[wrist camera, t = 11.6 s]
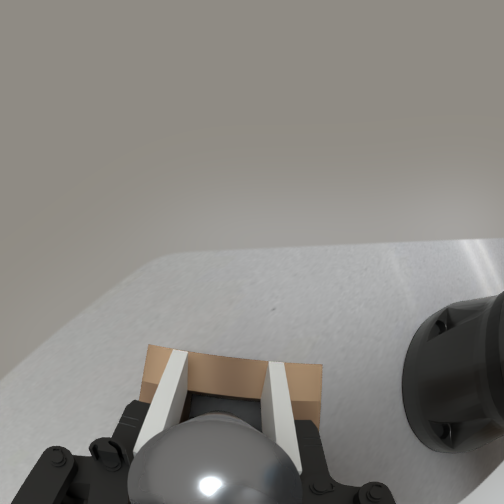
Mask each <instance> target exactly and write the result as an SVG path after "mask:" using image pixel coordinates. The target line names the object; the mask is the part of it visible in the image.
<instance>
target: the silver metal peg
mask: <svg viewBox="0 0 504 504" xmlns="http://www.w3.org/2000/svg"><path fill="white" fill-rule="evenodd" d="M127 483H128V495H129V499H130V502H131V504H302V493H303V491H302V482H301V479H300V475H299V473H298V470H297V468H296V466H295V464H294V463H293V461H292V460H291V458H290V457H289V455H288V454H287V453H286V452H285V451H284V450H283V449H282V448H281V447H280V446H279V445H278V444H277V443H275V442H274V441H273V440H271V439H270V438H268V437H267V436H265V435H264V434H262V433H261V432H259V431H258V430H256V429H255V428H253V427H252V426H251V425H249V424H248V423H246V422H245V421H243V420H242V419H240V418H239V417H238V416H236V415H234V414H232V413H229V412H225V411H211V412H207V413H204V414H202V415H200V416H197V417H195V418H192V419H190V420H188V421H185V422H183V423H180V424H177V425H175V426H172V427H170V428H167V429H165V430H163V431H161V432H160V433H158V434H156V435H155V436H153V437H152V438H151V439H149V440H148V441H147V442H146V443H145V444H144V445H143V446H142V447H141V448H140V450H139V451H138V452H137V454H136V455H135V457H134V459H133V461H132V463H131V466H130V469H129V473H128V481H127Z"/></svg>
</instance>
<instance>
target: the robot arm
mask: <svg viewBox="0 0 504 504" xmlns="http://www.w3.org/2000/svg"><path fill="white" fill-rule="evenodd" d="M187 385H188V352H187V351H181V350H175V349H173V351H172V353H171V356H170V358H169V361H168V363H167V365H166V368H165V370H164V373H163V375H162V378H161V380H160V383H159V385H158V388H157V390H156V393H155V395H154V398H153V400H152V403H151V404H150V403H146V402H141V401H137V400H134V401H132V402H131V403H130V404H129V405H127V406H126V408H125V410H124V412H123V414H122V417H121V418H120V421H119V423H118V425H117V427H116V429H115V431H114V433H113V435H112V438H109V437H102V438H99V439H96V440H95V441H93V442H92V443H91V444H90V446H89V451H90V453H91V455H92V456H77V455H72V454H71V452H70V451H69V450H67V449H66V448H64V447H61V446H52V447H49V448H47V449H46V450H45V451H44V452H43V454H42V455H41V457H40V458H39V460H38V461H37V463H36V464H35V466H34V467H33V469H32V470H31V472H30V474H29V475H28V477H27V478H26V480H25V481H24V483H23V485H22V486H21V488H20V489H19V491H18V493H17V494H16V496H15V498H14V499H13V501H12V503H11V504H131V502H130V499H129V495H128V483H127V481H128V473H129V469H130V466H131V463H132V461H133V459H134V457H135V455H136V454H137V452H138V451H139V450H140V448H141V447H142V446H143V445H144V444H145V443H146V442H147V441H148V440H149V439H151V438H152V437H153V436H155V435H156V434H158V433H160V432H161V431H163V430H165V429H167V428H170V427H172V426H175V425H177V424H179V422H180V418H181V414H182V410H183V406H184V402H185V399H186V395H187ZM403 398H404V405H405V410H406V414H407V417H408V420H409V423H410V425H411V427H412V429H413V431H414V432H415V434H416V435H417V437H418V438H419V439H420V440H421V441H422V442H423V443H424V444H425V445H426V446H428V447H429V448H431V449H433V450H435V451H438V452H443V453H463V452H468V451H472V450H474V449H477V448H479V447H481V446H483V445H485V444H487V443H489V442H491V441H493V440H495V439H497V438H499V437H501V436H503V435H504V291H503V292H502V293H501V294H499V295H496V296H491V297H485V298H479V299H473V300H467V301H460V302H456V303H453V304H450V305H448V306H446V307H445V308H443V309H441V310H440V311H438V312H437V313H435V314H433V315H432V316H431V317H429V318H428V319H427V320H426V321H425V322H424V323H423V324H422V325H421V327H420V328H419V329H418V331H417V332H416V334H415V336H414V338H413V340H412V342H411V344H410V347H409V350H408V353H407V356H406V361H405V366H404V373H403ZM261 419H262V434H264V435H265V436H267V437H268V438H270V439H271V440H273V441H274V442H275V443H277V444H278V445H279V446H280V447H281V448H282V449H283V450H284V451H285V452H286V453H287V454H288V455H289V457H290V458H291V460H292V461H293V463H294V464H295V466H296V468H297V470H298V473H299V475H300V479H301V482H302V491H303V493H302V504H396V503H395V501H394V498H393V496H392V494H391V491H390V490H389V488H388V487H387V486H386V485H384V484H383V483H379V482H369V483H367V484H364V485H363V486H362V487H354V486H346V485H342V484H340V483H338V482H336V481H335V480H333V479H332V477H331V476H330V474H329V472H328V468H327V464H326V460H325V456H324V451H323V447H322V443H321V439H320V435H319V431H318V428H317V427H316V425H315V424H314V423H313V422H312V420H294V418H293V413H292V407H291V401H290V395H289V389H288V384H287V378H286V372H285V366H284V362H272V361H269V362H268V367H267V372H266V377H265V381H264V386H263V391H262V396H261Z"/></svg>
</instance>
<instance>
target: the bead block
mask: <svg viewBox="0 0 504 504" xmlns="http://www.w3.org/2000/svg"><path fill="white" fill-rule="evenodd" d="M175 350H177V349H175ZM172 351H173V349H171V348H165V347H160V346H155V345H150V344H149V345H148V350H147V356H146V361H145V367H144V372H143V378H142V385H141V391H140V397H139V401H141V402H146V403H150V404H151V403H152V400H153V398H154V395H155V393H156V390H157V388H158V385H159V383H160V380H161V378H162V375H163V373H164V370H165V368H166V365H167V363H168V361H169V358H170V356H171V353H172ZM181 351H183V350H181ZM187 352H188V385H187V395H186V399H185V402H184V406H183V410H182V414H181V418H180V422H179V424H180V423H183V422H185V421H188V420H189V413H190V405H191V397H192V394H197V395H203V396H210V397H217V398H225V399H234V400H244V401H255V402H261V396H262V391H263V386H264V381H265V377H266V372H267V367H268V362H269V361H260V360H249V359H240V358H232V357H223V356H216V355H209V354H202V353H195V352H189V351H187ZM284 366H285V372H286V378H287V384H288V389H289V395H290V401H291V407H292V413H293V418H294V420H312V422H313V423H314V424H315V425H316V427H317V428H318V431H319V423H320V408H321V389H322V365H321V364H299V363H284Z"/></svg>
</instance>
